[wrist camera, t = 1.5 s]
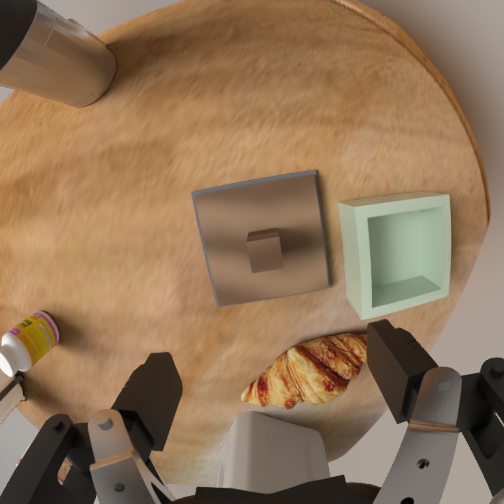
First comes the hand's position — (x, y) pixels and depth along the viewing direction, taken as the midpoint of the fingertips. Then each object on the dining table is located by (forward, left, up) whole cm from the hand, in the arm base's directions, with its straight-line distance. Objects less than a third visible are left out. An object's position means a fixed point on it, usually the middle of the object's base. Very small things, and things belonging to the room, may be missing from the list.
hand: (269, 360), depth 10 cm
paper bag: (+34, -6, -22) cm, 41 cm away
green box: (+3, +15, -22) cm, 27 cm away
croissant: (+18, +3, -22) cm, 29 cm away
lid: (0, 0, -22) cm, 22 cm away
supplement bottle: (+8, -39, -22) cm, 45 cm away
